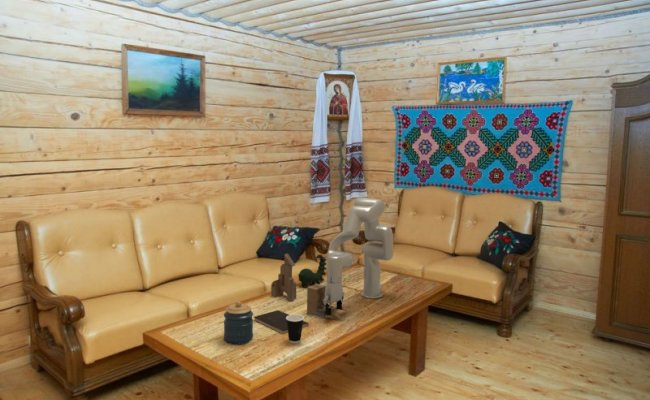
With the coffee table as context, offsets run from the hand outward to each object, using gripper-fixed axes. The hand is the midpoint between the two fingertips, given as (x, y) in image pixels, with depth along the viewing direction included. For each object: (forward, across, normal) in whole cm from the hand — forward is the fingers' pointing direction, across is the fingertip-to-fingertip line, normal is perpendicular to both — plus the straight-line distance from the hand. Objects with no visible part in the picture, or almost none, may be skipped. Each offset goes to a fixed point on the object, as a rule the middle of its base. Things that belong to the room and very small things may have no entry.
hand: (333, 312), depth 253 cm
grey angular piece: (+3, 0, -8) cm, 9 cm away
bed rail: (+3, 0, 0) cm, 3 cm away
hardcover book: (+4, +22, -16) cm, 28 cm away
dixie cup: (+3, +35, +3) cm, 35 cm away
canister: (+3, +49, -18) cm, 52 cm away
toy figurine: (+3, -38, -43) cm, 57 cm away
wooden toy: (+3, -8, -40) cm, 41 cm away
